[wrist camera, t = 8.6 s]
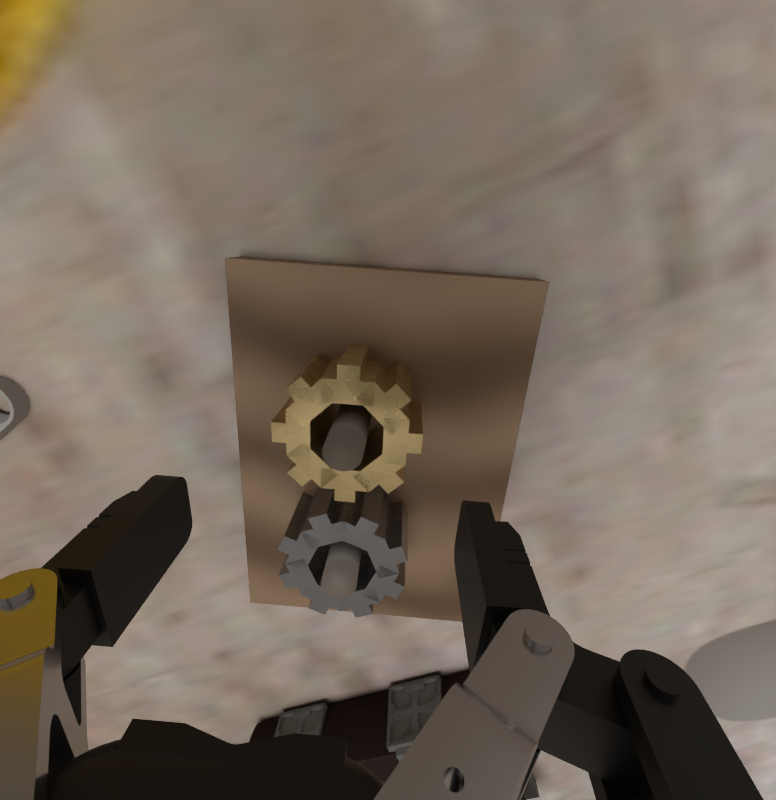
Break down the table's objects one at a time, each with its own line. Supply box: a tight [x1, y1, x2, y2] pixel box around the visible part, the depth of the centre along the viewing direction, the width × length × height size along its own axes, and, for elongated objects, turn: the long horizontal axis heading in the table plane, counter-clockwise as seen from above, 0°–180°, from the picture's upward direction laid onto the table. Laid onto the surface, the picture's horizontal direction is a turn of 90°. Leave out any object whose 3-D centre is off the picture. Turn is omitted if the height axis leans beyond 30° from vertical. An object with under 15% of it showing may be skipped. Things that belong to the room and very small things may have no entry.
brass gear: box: [271, 343, 423, 502], centre depth 18 cm, size 6×6×4 cm
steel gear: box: [278, 485, 408, 617], centre depth 21 cm, size 6×6×4 cm
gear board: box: [225, 257, 549, 622], centre depth 20 cm, size 20×14×6 cm
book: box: [249, 671, 539, 800], centre depth 31 cm, size 15×25×5 cm, turn 114°
